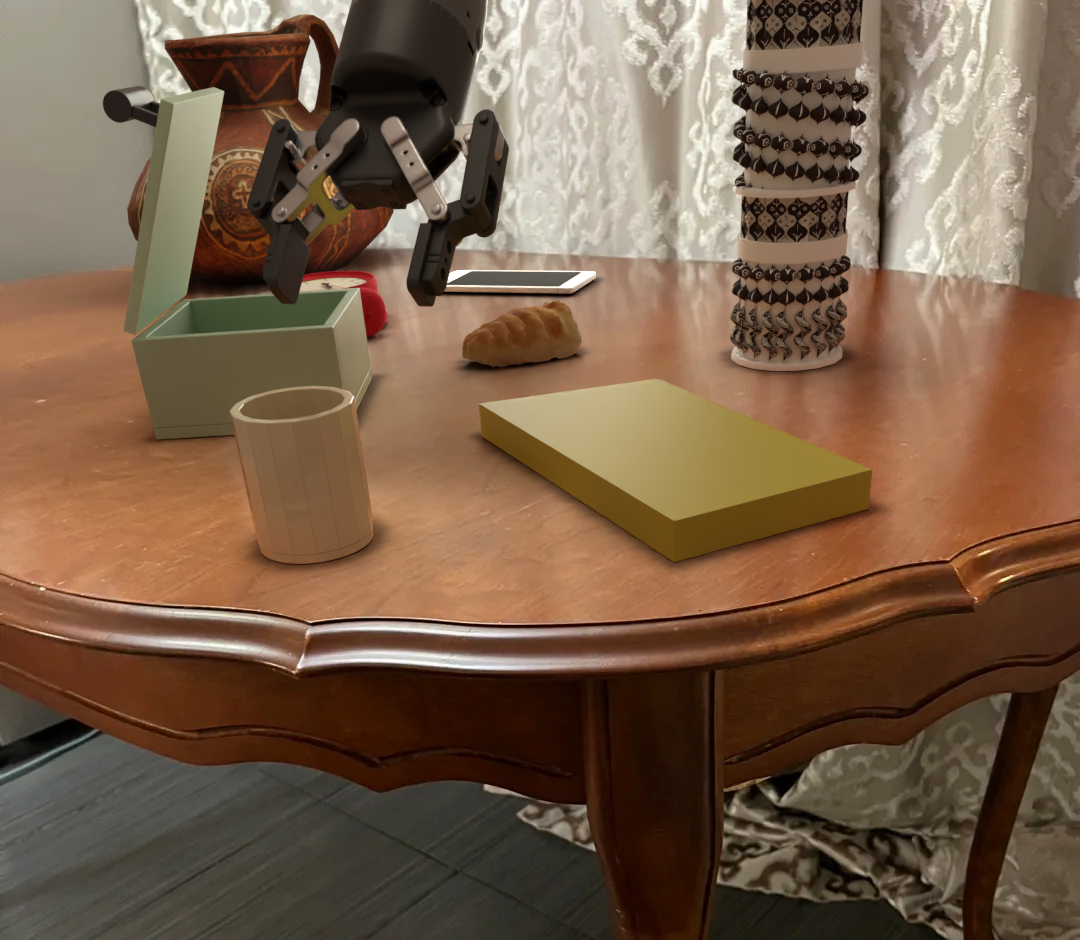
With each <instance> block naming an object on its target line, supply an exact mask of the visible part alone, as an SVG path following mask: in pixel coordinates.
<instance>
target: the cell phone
mask: <svg viewBox="0 0 1080 940" xmlns="http://www.w3.org/2000/svg"><path fill="white" fill-rule="evenodd" d="M596 278H597V272H596V271H590V270H501V269H500V270H494V269H493V270H486V269H483V270H481V269H480V270H479V269H459V270H458V269H457V270H454V271H452V272H450V273H449V277H448V282H447V286H446V289H445V290H444V292H450V293H451V292H453V293H507V294H508V293H510V294H512V293H514V294H515V293H516V294H565V295H567V294H568V295H569V294H574V293H575V292H576V291H578V290H581V288H584V286H586V285H587V284H589V283H591V282H592V281H593V280H595V279H596ZM444 292H443V293H444Z"/></svg>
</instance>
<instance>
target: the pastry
mask: <svg viewBox="0 0 1080 940" xmlns="http://www.w3.org/2000/svg"><path fill="white" fill-rule="evenodd" d="M582 342H583V340H582V334H581V332H580V329H579V325H578V323H577V321H576V319H574V316H573V312H572V310H571V308H570V307H569V305H567V304H566V303H565V302H563V301H561V300H558V299H557V300H552V301H551V302H544V303H543V304H542V305H533V306H532V305H531V306H521V307H516V308H513V309H511V310H508V311H507V312H505V313H502V314H500V315H499V316H498V317H497V318H495V319H493V320H490V321H489V322H485V323H482V324H481V325H480V327H478V328H477V329H475V330H473V331H472V332H469V333H468V334H467V335H466V336H465V337H464V340H463V342H462V348H461V349H462V352H461V356H462V359H467V360H470V361H472V362H476V363H478V364H481V365H486V366H491V367H492V368H494V367H499V368H506V367H507V366H511V365H518V366H521V365H523V364H526V363H527V364H528V363H541V362H548V361H550V360H551V359H554V358H557V359H560V360H561V359H565V358H566V359H567V358H569V357H571V356H574V355H575V354H577V353H578V349H579V348H580V347H581V345H582Z"/></svg>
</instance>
